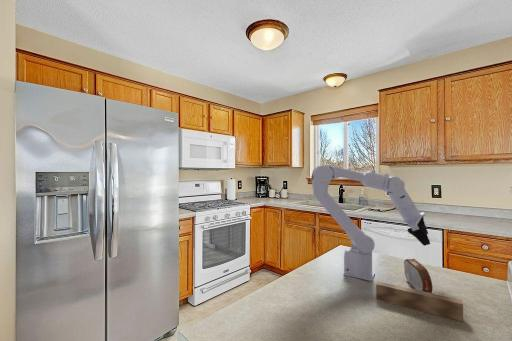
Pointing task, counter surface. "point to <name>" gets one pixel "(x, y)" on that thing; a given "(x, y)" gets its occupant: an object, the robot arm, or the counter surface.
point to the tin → (417, 276)
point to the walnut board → (420, 300)
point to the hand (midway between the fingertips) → (426, 239)
